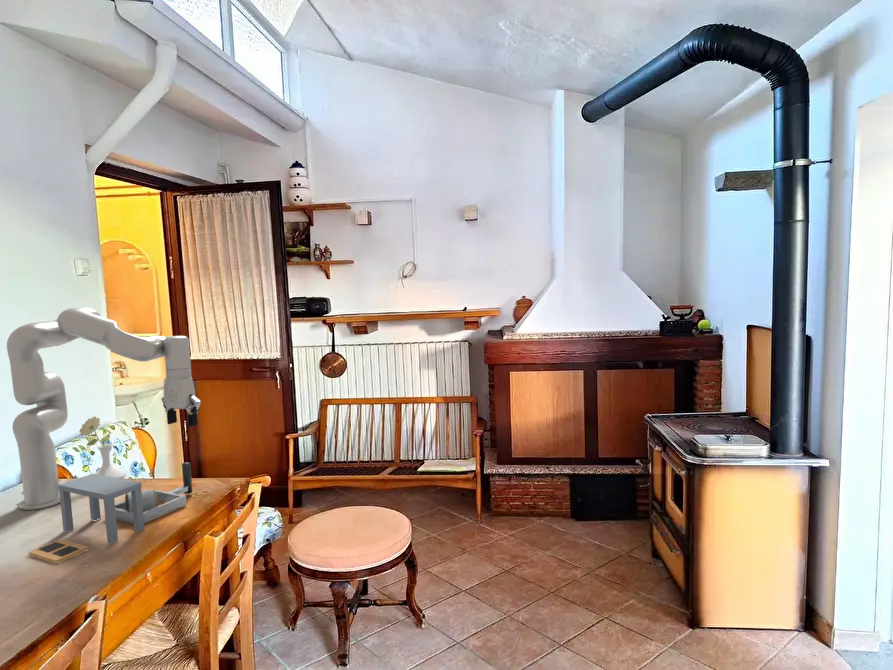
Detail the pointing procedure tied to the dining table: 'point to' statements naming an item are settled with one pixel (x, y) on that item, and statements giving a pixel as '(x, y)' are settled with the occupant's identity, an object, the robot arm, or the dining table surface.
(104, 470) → the flower in vase
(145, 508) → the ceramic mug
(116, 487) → the grey side table
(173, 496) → the grey open frame
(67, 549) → the board
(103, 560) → the dining table surface
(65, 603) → the dining table surface
